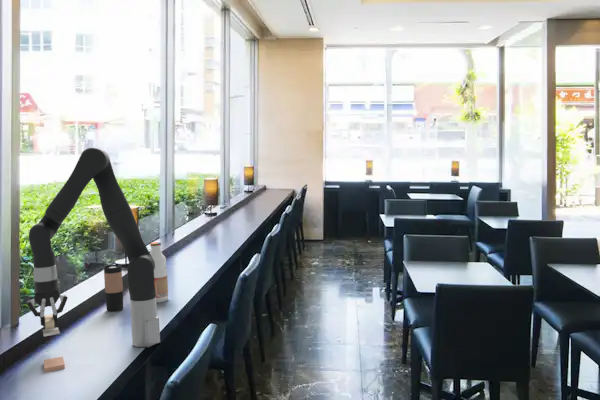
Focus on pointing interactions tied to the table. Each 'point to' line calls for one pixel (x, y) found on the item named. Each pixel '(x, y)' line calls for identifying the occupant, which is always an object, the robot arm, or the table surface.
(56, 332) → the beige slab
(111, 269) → the travel mug
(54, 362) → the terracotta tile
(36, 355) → the table surface
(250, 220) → the table surface
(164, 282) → the fruit juice
